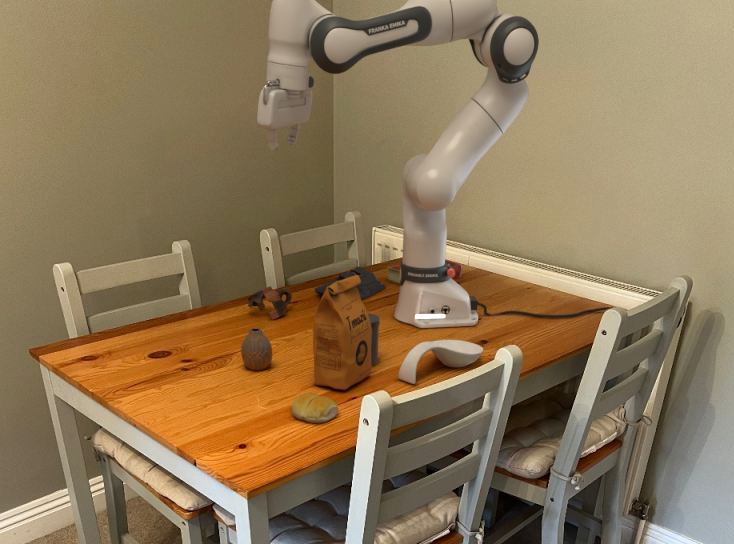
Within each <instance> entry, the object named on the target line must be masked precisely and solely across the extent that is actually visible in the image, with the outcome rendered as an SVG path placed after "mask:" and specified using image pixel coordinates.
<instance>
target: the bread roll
mask: <svg viewBox="0 0 734 544" xmlns="http://www.w3.org/2000/svg"><path fill="white" fill-rule="evenodd" d="M291 412H292V415H293V416H294V417H295V418H296V419H297V420H300V421H306V422H308V423H313V424H320V423H326V422H329V421H330V420H333V419H334V418H335V417H336V416H337V415H338V413H339V408H338V404H337V402H336V401H335V400H334V399H333V398H331V397H329V396H328V395H321V396H320V395H318V394H317V393H314V392H306V393H303V394H299V396H297V397H295V399H294V400H293V402H292V405H291Z"/></svg>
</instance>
